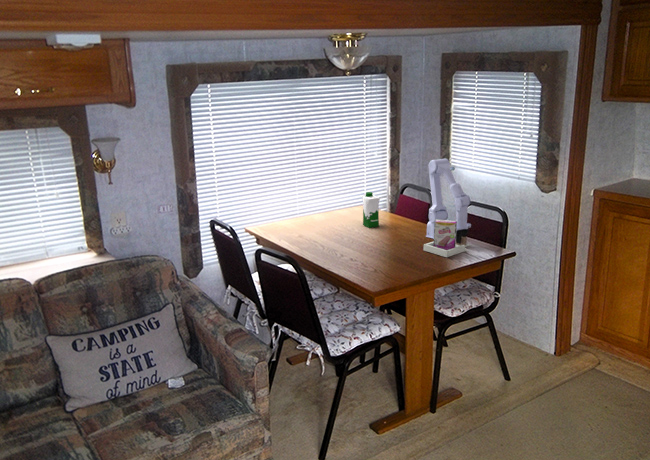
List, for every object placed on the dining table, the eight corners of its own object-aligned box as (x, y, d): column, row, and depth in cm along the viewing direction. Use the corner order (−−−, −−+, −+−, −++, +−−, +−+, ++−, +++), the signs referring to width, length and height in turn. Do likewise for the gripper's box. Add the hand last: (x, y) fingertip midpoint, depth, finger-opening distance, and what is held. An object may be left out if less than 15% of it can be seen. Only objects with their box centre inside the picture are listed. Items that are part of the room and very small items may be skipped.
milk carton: (372, 223, 366) (373, 191, 361) (381, 226, 359) (381, 194, 353) (360, 225, 362) (360, 192, 357) (368, 228, 355) (369, 195, 349)
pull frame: (423, 250, 314) (423, 241, 313) (453, 240, 329) (453, 232, 328) (446, 257, 303) (447, 248, 301) (476, 247, 318) (477, 238, 317)
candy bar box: (433, 251, 312) (434, 221, 308) (434, 248, 317) (435, 219, 312) (455, 253, 309) (456, 222, 305) (455, 250, 314) (457, 220, 309)
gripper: (459, 222, 309) (457, 247, 313) (476, 217, 318) (474, 241, 322) (448, 219, 315) (447, 244, 319) (465, 214, 324) (464, 238, 327)
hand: (460, 242), depth 321 cm, fingers closed on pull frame, 2 cm apart
